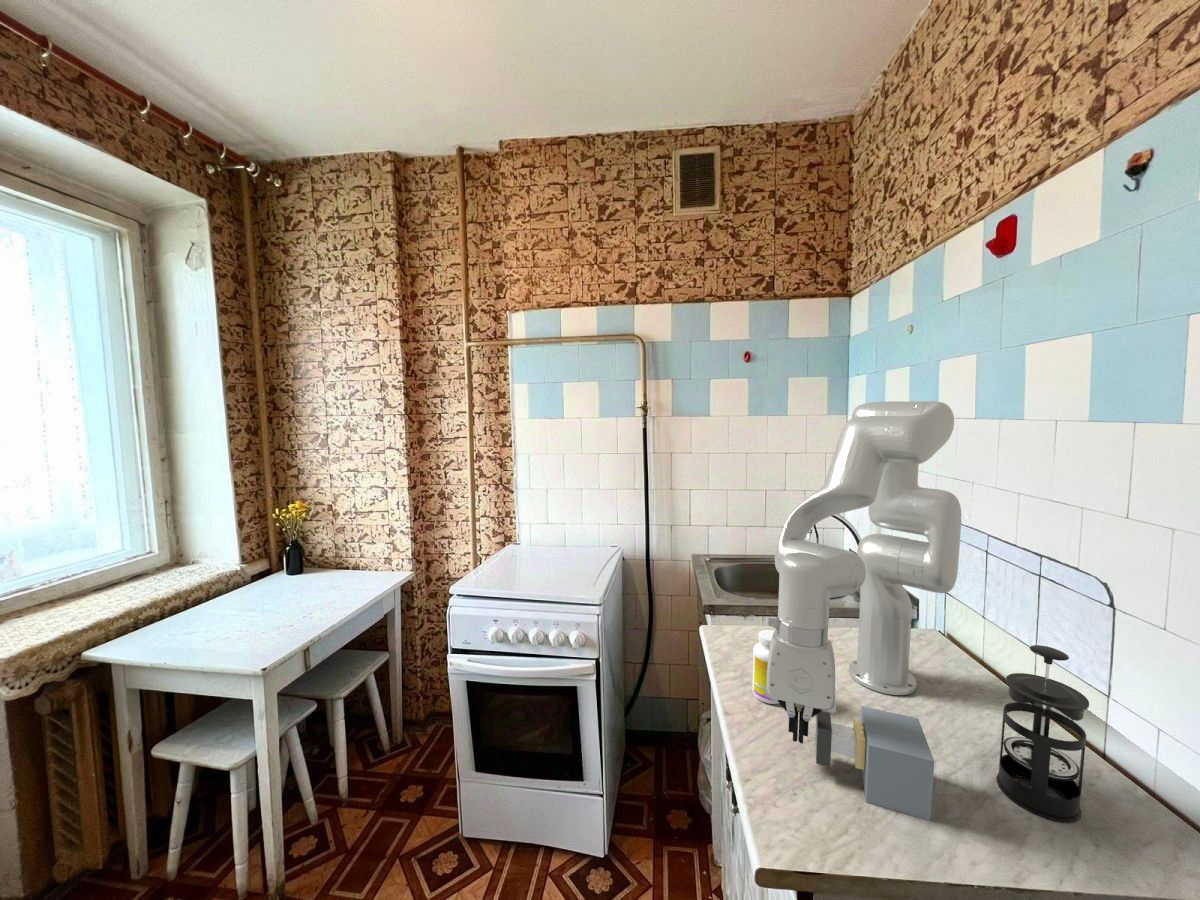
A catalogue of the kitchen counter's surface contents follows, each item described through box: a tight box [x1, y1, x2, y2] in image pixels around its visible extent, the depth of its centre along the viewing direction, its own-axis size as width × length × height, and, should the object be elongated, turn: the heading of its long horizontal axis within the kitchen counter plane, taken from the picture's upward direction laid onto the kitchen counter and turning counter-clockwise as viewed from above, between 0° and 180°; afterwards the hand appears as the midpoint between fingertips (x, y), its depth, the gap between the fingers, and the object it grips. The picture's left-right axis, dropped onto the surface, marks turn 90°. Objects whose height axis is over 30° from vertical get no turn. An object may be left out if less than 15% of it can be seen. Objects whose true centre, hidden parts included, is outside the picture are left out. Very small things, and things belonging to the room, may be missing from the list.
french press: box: [995, 644, 1090, 824], centre depth 70 cm, size 12×9×23 cm
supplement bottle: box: [751, 629, 780, 705], centre depth 95 cm, size 7×7×13 cm
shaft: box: [814, 712, 866, 770], centre depth 74 cm, size 6×14×6 cm, turn 67°
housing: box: [860, 705, 935, 822], centre depth 72 cm, size 10×8×9 cm
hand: (798, 737), depth 78 cm, fingers closed
